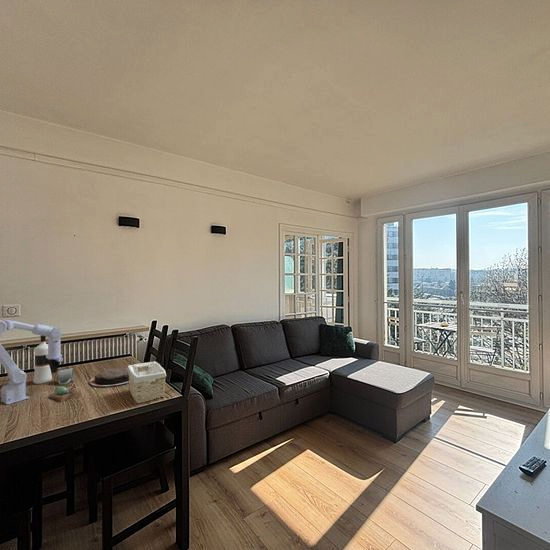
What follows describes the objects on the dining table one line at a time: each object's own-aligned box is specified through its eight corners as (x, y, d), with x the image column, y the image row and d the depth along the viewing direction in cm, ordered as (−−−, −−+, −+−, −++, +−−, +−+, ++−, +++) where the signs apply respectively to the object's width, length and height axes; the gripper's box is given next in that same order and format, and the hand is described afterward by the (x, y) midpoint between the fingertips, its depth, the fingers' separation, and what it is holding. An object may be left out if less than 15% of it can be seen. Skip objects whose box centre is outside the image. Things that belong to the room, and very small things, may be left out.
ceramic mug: (58, 380, 190) (58, 368, 189) (73, 378, 193) (74, 366, 193) (55, 386, 180) (55, 373, 180) (72, 384, 184) (72, 371, 184)
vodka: (32, 381, 188) (33, 332, 188) (51, 378, 194) (52, 331, 194) (33, 385, 181) (33, 335, 181) (52, 382, 187) (53, 333, 187)
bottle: (54, 395, 167) (62, 399, 162) (54, 387, 166) (62, 390, 162) (63, 392, 170) (71, 396, 166) (63, 384, 170) (71, 388, 166)
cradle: (61, 401, 158) (61, 397, 158) (49, 397, 164) (49, 392, 164) (80, 395, 166) (80, 391, 166) (69, 391, 172) (69, 387, 172)
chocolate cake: (97, 374, 202) (97, 364, 202) (142, 371, 210) (142, 362, 210) (82, 390, 175) (82, 378, 175) (135, 386, 183) (135, 375, 183)
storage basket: (166, 398, 164) (167, 371, 164) (134, 405, 155) (134, 376, 155) (156, 385, 184) (156, 360, 184) (126, 390, 174) (126, 365, 174)
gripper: (68, 348, 173) (68, 372, 173) (55, 345, 180) (55, 368, 180) (54, 351, 167) (54, 376, 167) (41, 348, 174) (41, 371, 174)
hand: (54, 372), depth 173 cm, fingers closed
